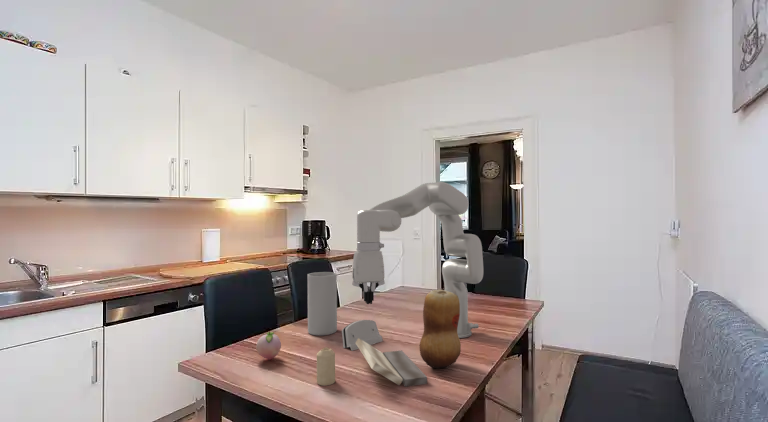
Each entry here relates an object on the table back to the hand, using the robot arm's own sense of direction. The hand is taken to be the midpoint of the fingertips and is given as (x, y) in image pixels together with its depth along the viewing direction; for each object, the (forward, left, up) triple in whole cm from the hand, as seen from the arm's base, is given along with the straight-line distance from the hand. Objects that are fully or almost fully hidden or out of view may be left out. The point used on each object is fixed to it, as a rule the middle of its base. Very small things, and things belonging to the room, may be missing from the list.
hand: (368, 303), depth 128 cm
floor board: (-10, +4, -21) cm, 24 cm away
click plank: (-1, +4, -18) cm, 19 cm away
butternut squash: (-23, +5, -22) cm, 32 cm away
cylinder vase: (+10, -46, -22) cm, 52 cm away
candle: (+15, +6, -22) cm, 27 cm away
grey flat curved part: (-3, -26, -22) cm, 34 cm away
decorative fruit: (+32, -18, -22) cm, 42 cm away
